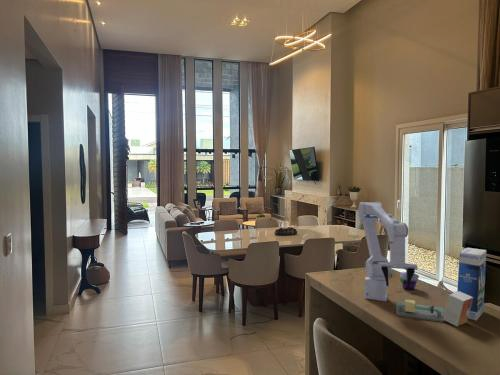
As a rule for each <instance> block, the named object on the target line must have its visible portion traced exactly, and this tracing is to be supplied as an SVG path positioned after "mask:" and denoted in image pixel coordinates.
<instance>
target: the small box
mask: <svg viewBox="0 0 500 375" xmlns="http://www.w3.org/2000/svg"><path fill="white" fill-rule="evenodd" d="M472 301H473V297H471V296H469V295H467V294H465V293H462V292H460V291H458V292H457V291H456V292H453V293H451V294H448V297H447V300H446V305H445V310H444V312H443V320H445V322H447V323H449V324H451V325H452V326H455V327H456V328H457V327H460V326H461V325H464V324H467V322H468V320H469V319H468V316H469V313H470V309H471V305H472Z"/></svg>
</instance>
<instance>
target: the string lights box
mask: <svg viewBox="0 0 500 375" xmlns="http://www.w3.org/2000/svg"><path fill="white" fill-rule="evenodd" d="M486 265H487V249H481V248H480V249H479V248H472V247H466V248H465V249H464V248H463V250H461V251H459V256H458V273H457V291H456V292H458V291H460V292H462V293H465V294H467V295H469V296H471V297H473V301H472V305H471V309H470V313H469V316H468V320H473V321H478V319H479V318H480V317H481V315H483V313H484V306H485V304H484V303H485V285H486V268H487V266H486Z"/></svg>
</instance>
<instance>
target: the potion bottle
mask: <svg viewBox="0 0 500 375" xmlns="http://www.w3.org/2000/svg"><path fill="white" fill-rule="evenodd" d="M404 270H405V271H404V272H403V271H402V272H400V273H399V275H400V276H399V277H400V282H401V284H402V289H404V290H407V291H415V290H416V285H417V283H418V281H419V277H420V274H417V273H416V272H415V273H414V275H413V276H412V278H411V281H410V285H409V288H407V286H406V283H407V269H404ZM414 289H415V290H414Z"/></svg>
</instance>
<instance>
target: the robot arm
mask: <svg viewBox="0 0 500 375" xmlns="http://www.w3.org/2000/svg"><path fill="white" fill-rule="evenodd" d="M357 206H358V207H357V212H358V218H359V220H360V222H362V226H363V230H364V235H365V240H366V244H367V248H368V254H369V258H367V260H365V274H366V275H367V276H365V278H364V288H363V293H364V296H363V297H364V299H367V300H374V301H375V300H376V301H382V302H387V301H388V294H387V287H389V278H390V277H391V276H392V271H393V270H392V269H401V270H405V269H407V283H406V286H407V288H409V285H410V281H411V278H412V276H413V275H414V273H415V274H416V272H415V271H417V270H418V265H417V264H416V263H415V264H414V263H407V262H406V237H408V235H409V227H408V225H407V224H406V222H400V221H399V220H398V219H396V218H395V217H394V216H393V214H391V213H387V212H386V211H385V210H384V208H383V204H382V203H381V202H380V201H376V202H375V201H374V202H373V201H372V202H370V201H369V202H368V201H366V202H365V201H360V202H359V204H358V205H357ZM379 220H380V224H381V225H382V226H383V227H384V228H385V230H386V232H387V236H388V241H389V245H390V246H389V259H387V258H386V257H385V256H384V255H383V254H382V251H381V247H380V242H379V238H378V234H377V230H376V225H375V224H376V223H377V222H378V221H379Z"/></svg>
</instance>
